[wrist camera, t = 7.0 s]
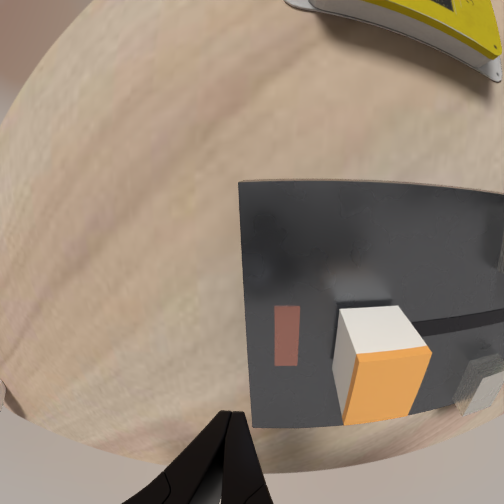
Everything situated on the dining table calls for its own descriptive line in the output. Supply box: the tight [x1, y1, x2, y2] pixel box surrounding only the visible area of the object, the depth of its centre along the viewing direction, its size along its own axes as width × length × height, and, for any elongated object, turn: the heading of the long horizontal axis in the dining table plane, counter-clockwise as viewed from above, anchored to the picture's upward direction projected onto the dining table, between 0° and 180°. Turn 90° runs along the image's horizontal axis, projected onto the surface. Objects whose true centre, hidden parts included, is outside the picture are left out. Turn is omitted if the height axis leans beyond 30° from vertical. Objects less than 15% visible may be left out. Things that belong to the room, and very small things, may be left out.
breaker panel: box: [238, 179, 504, 428], centre depth 13 cm, size 20×15×4 cm
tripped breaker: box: [332, 305, 432, 425], centre depth 11 cm, size 3×4×4 cm
